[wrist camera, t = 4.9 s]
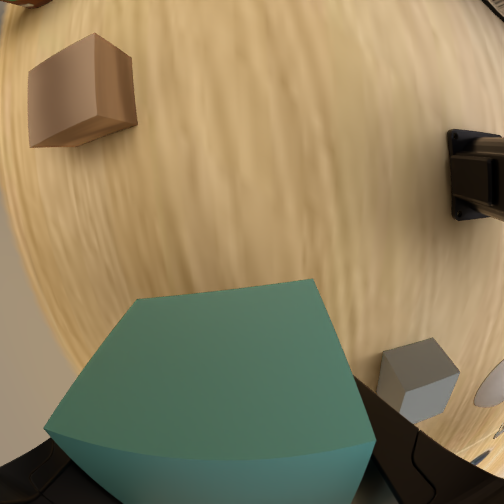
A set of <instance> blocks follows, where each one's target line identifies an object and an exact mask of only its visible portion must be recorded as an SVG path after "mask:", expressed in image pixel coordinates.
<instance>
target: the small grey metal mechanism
mask: <svg viewBox="0 0 504 504" xmlns="http://www.w3.org/2000/svg"><path fill="white" fill-rule="evenodd" d="M503 424H504V423H503ZM501 426H502V425H501ZM500 428H501V427H500ZM499 430H500V429H499ZM498 432H499V431H498ZM498 432H497V433H496V434H495V436H494V438H493V439H495V438H496V437H498V436H499V435H500V434H502V433H503V432H504V426H503V430H501V431H500V432H499V433H498Z"/></svg>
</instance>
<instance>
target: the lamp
mask: <svg viewBox="0 0 504 504" xmlns="http://www.w3.org/2000/svg"><path fill="white" fill-rule="evenodd" d="M503 401H504V360H503V361H502V362H501V363H500V364H499V365H498V366H496V368H495V369H494V370H493V371H492V372H491V373H490V374H489V375H488V377H487V378H486V379H485V381H484V382H483V383H482V385H481V386H480V388H479V390H478V391H477V393H476V396H475V399H474V404H475V405H476V406H478V407H492V406H495V405H498V404H500V403H501V402H503Z"/></svg>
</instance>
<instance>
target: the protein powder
mask: <svg viewBox="0 0 504 504" xmlns="http://www.w3.org/2000/svg"><path fill="white" fill-rule="evenodd" d="M482 1H483V2H484V3H485V5H486V6H487V7H488V8H489V9H490V10H491V11H492V12H493V13H494V14H495V15H497V16H498V17H499V18H500V19H501V20H502V21H503V22H504V0H482Z"/></svg>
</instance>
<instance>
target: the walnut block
mask: <svg viewBox="0 0 504 504" xmlns="http://www.w3.org/2000/svg"><path fill="white" fill-rule="evenodd" d="M135 125H138V122H137V114H136V105H135V96H134V85H133V73H132V58H131V57H130V56H128V55H127V54H125V53H124V52H123V51H121V50H120V49H118V48H117V47H115V46H114V45H112V44H111V43H110V42H108V41H107V40H105V39H104V38H102V37H101V36H99V35H98V34H96V33H93V34H91V35H89V36H87V37H85V38H83V39H81V40H79V41H77V42H75V43H74V44H72V45H70V46H68V47H67V48H65V49H63V50H61V51H60V52H58V53H56V54H55V55H53V56H52V57H50V58H48V59H47V60H45V61H44V62H42V63H41V64H39V65H38V66H36V67H35V68H33V69H32V70H30V71H29V75H28V129H29V144H30V148H38V147H77V146H80V145H82V144H85V143H87V142H90V141H92V140H95V139H98V138H100V137H103V136H106V135H109V134H111V133H114V132H117V131H120V130H123V129H126V128H129V127H132V126H135Z"/></svg>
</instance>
